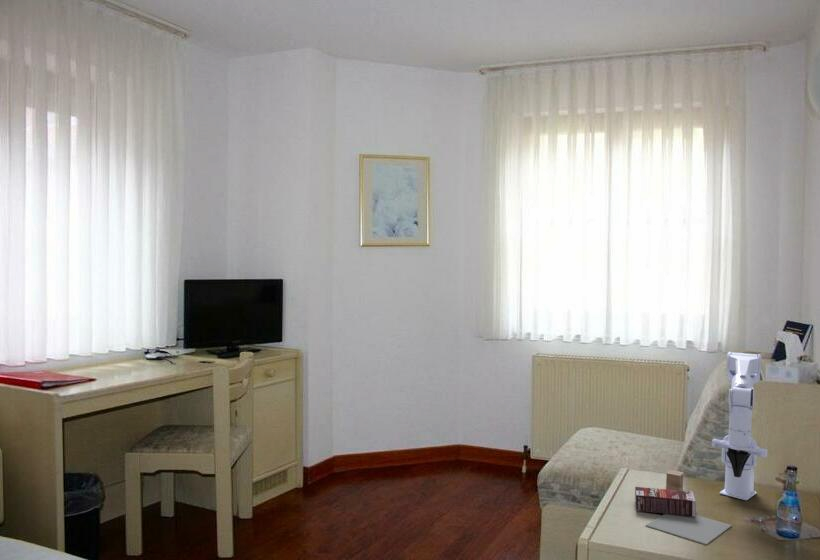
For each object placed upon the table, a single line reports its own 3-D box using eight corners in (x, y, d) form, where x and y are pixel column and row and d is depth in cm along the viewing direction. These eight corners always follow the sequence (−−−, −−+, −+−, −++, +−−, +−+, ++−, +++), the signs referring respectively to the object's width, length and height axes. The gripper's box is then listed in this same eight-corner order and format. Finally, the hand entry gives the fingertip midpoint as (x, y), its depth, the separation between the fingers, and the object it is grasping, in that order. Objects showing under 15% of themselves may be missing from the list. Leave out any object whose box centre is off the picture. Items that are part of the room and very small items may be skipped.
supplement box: (696, 500, 189) (635, 495, 193) (696, 517, 189) (635, 512, 193) (692, 490, 197) (634, 485, 202) (692, 507, 197) (634, 502, 202)
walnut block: (668, 492, 211) (669, 469, 211) (682, 495, 209) (683, 472, 208) (665, 495, 207) (666, 473, 207) (679, 498, 205) (680, 475, 205)
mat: (673, 509, 196) (673, 508, 196) (731, 526, 185) (731, 525, 185) (645, 526, 183) (645, 525, 183) (706, 545, 172) (706, 543, 172)
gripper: (708, 426, 197) (706, 473, 197) (762, 437, 187) (760, 485, 187) (717, 422, 202) (715, 468, 202) (770, 432, 192) (768, 480, 192)
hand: (737, 476), depth 195 cm, fingers closed
